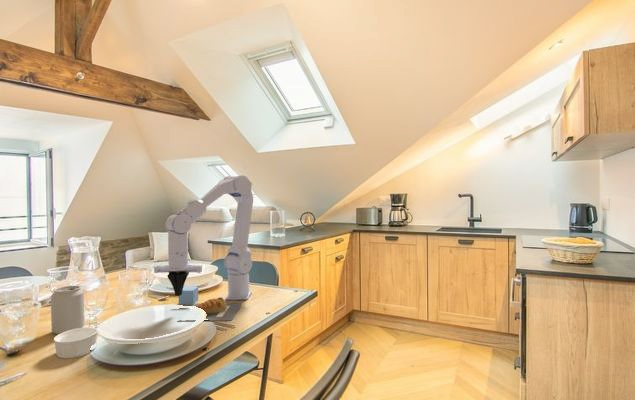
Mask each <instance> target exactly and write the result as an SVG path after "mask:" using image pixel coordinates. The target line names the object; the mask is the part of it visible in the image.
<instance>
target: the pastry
mask: <svg viewBox="0 0 635 400" xmlns="http://www.w3.org/2000/svg"><path fill="white" fill-rule="evenodd" d="M225 303H226V302H225V298H223V297H217V298H210V299H207V300H205V301H204V302H201V303H199V304H200V305H198V306H196V307H198V308H201V309H203V310H204V311H205V312H206V314H212V313H213V314H214V313H217V312H223V311H225V309H226V304H225Z"/></svg>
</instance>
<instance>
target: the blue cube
mask: <svg viewBox="0 0 635 400" xmlns="http://www.w3.org/2000/svg"><path fill="white" fill-rule="evenodd" d="M198 301H199V286H183V290H182V294H181V295H180V296H178V305H179V304H185V305H184V306H193V305H195V304H197V302H198Z"/></svg>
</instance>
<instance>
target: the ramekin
mask: <svg viewBox="0 0 635 400" xmlns="http://www.w3.org/2000/svg"><path fill="white" fill-rule="evenodd" d="M98 332H99V329H98V328H96V327H94V326H93V327H92V326H91V327H90V326H89V327H86V326H83V327H82V328H77V329H73V330H69V331H66V332H63V333H61V334H59V335H57V334H56V335H55V336H54V338H53V343H54V346H55V353H56V357H58V358H60V359H75V358H79V357H82V356H85V355H88V354H90V353H91V352H90V348H91V346H92V345H94V344H95V343H96V344H97V342H96V341H97V336H98Z"/></svg>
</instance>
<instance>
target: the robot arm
mask: <svg viewBox="0 0 635 400" xmlns="http://www.w3.org/2000/svg"><path fill="white" fill-rule="evenodd" d="M252 185H253V183H252V182H251V180H250V179H249V178H248V177H247V176H245V175H235V176H234V175H232V176H229V175H228V176H225V177H224V178H223V179H220V180H219V181H218V183H217V184H216V185H214V186H213V187H212V188H211V189H210V190H209V191H208V192H206V193H205V194H204V196H202V197H200V199H192V200H191V199H190V200H189V201H187V204H186V205H185V206H184V207H183V208H182V209H178V210H176V214H172V215H169V216H168V217H167V219H166V221H165V223H164V224H163V225H164V228H165V230H166V231H167V239H168V240H167V243H168V245H167V246H168V247H167V248H168V251H167V253H168V256H167V257H168V264H166V265H155V266H154V267H153V271H154V272H153V273H154V274H158V273H159V274H160V273H162V274H163V273H168V275H167V279H168V280H169V282H170V284H171V286H172V288H173V289H172V290H173V293H174V295H175V297H179V296H180V295H181V294H182V290H183V287H185V283H186V280H187V278H188V276H189V274H190V273H198V274H201V273H202V272H203V265H199V264H198V265H196V264H188V263H189V260H188V259H189V256H188V254H189V253H188V252H189V251H188V249H189V248H188V247H189V245H188V232H189V231H190V229H191V228H192V225H193V224H194V223H196V221H197V220H199V219H200V218H201V217H202V216H203V215H205V213H206V212H207V208H208V206H210V205H211V204H213V203H215V202H216V201H217V200H219V199H220V198H221V197H223V196H224V195H229V196H231V197H232V198H233V199H234V200H235V202H236V203H237V207H236V215H235V221H234V229H233V234H232V235H233V236H232V237H233V238H232V243H231V244H232V245H230V246H229V248H228V249H227V253H226V255H225V257H224V259H223V264H224V267H225V269H227V270H226V271H227V286H228V287H227V288H228V289H227V290H228V291H227V293H228V294H227V295H226V296H225V297H224V301H227V300H230V301H235V300H239V301H241V300H243V301H244V300H248V299H249V298H250V296H251V295H252V293H253V291H252V290H250V275H249V273H250V271H251V269H252V266H253V259H252V252H251V250H250V249H249V247H248V245H249V244H248V243H249V238H250V237H249V236H250V230H251V229H250V228H251V221H252V214H253V205H254V196H253V192H252V188H253V187H252Z"/></svg>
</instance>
